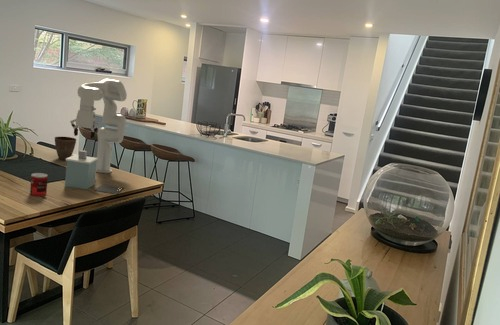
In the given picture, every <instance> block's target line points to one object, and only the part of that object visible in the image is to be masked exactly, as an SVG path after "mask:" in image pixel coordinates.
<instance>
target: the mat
mask: <svg viewBox="0 0 500 325" xmlns="http://www.w3.org/2000/svg"><path fill="white" fill-rule="evenodd" d="M119 187H121V188H122V187H123V186H117V185H109V184H102V183H101V184H100V185H99V186H97V188H95V189H94V190H93V191H94V192H100V191H101V193H107V192H109V193H108V194H114V193H117V194H116V195H118V194H119V193H121V192H122V191H123V190H122V189H121V188H119ZM118 188H119V189H121V190H122V191H121V190H120V191H119V189H118ZM117 190H118V191H117Z"/></svg>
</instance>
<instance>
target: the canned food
mask: <svg viewBox="0 0 500 325" xmlns="http://www.w3.org/2000/svg"><path fill="white" fill-rule="evenodd" d="M48 176H49V175H48V174H47V173H43V172H34V173H31V175H30V187H29V188H30V189H29V193H30V195H31V196H34V197H44V196H45V195H47V192H48V190H47V189H48Z"/></svg>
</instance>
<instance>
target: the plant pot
mask: <svg viewBox="0 0 500 325" xmlns="http://www.w3.org/2000/svg"><path fill="white" fill-rule="evenodd" d="M54 144H55V145H54V146H55V150H56V154H57V158H58V160H61V161H67V160H66V158H69V157H71V156H73V153H74V150H75V147H76V144H77V138H74V137H70V136H54Z"/></svg>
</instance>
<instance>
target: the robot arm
mask: <svg viewBox="0 0 500 325" xmlns="http://www.w3.org/2000/svg"><path fill="white" fill-rule="evenodd" d="M77 96H78V97H79V98H80V101H79V102H80V103H79V109H78V111H77V113H76V118H75V119H72V120H70V121H69V122H70V125H71V127H72V128H73V135H74V136H75V137H77V136H78V134H79V128H84V129H85V128H86V129H90V131H91V132H90V139H94V138H95V135H96V133H97V151H96V158H98V160H97V163H96V173H101V174H109V173H112V171H113V170H112V168H111V159H112V148H113V146H112V144H111V143H115V144H121V143H122V142H123V140H124V136H125V130H126V124H127V120H126V116H125V115H123V114H120V113H119V114H118V113H117V112H118V111H117V110H118V106H117V103H116V102H125V101H126V100H127V97H128V95H127V91H126V88H125V86H124V83H123V82H122V81H121V80H116V79H112V78H111V79H110V78H103V79H101V80H100V81H98V82H89V83H88V82H87V83H83V84H82V85H80V86H79V87H78V89H77ZM101 100H103V104H104V106H103V111H102V112H103V113H102V119H101V122H102V124H103V125H104V126H105V127H101V124H99V123H98V122H96V112H95V111H96V110H97V108H96V107H95V101H98V102H99V101H101ZM115 101H116V102H115ZM106 126H107V127H106ZM111 127H113V128H111Z"/></svg>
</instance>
